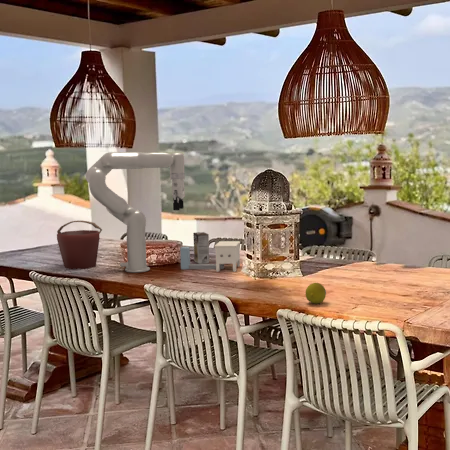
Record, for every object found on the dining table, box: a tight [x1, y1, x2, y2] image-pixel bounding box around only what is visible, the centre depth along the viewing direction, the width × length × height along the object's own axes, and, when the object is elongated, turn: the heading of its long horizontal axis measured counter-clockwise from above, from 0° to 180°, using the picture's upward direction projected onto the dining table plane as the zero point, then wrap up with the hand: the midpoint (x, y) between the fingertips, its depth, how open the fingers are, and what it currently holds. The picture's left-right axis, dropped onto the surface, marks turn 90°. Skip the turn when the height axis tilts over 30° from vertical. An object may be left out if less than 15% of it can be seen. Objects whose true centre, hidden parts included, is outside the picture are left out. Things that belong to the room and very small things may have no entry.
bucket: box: [56, 220, 103, 270], centre depth 348 cm, size 24×22×25 cm
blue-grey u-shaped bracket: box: [180, 246, 225, 270], centre depth 334 cm, size 22×4×11 cm, turn 81°
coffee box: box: [192, 231, 210, 264], centre depth 353 cm, size 9×6×16 cm
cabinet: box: [214, 240, 241, 272], centre depth 331 cm, size 11×18×13 cm, turn 171°
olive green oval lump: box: [305, 282, 327, 305], centre depth 251 cm, size 11×8×8 cm
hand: (178, 209), depth 339 cm, fingers open, 9 cm apart
